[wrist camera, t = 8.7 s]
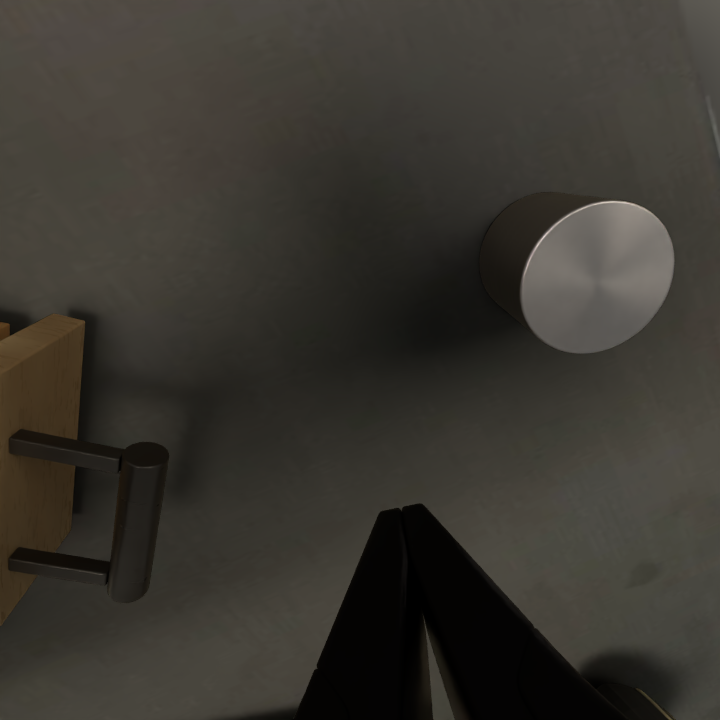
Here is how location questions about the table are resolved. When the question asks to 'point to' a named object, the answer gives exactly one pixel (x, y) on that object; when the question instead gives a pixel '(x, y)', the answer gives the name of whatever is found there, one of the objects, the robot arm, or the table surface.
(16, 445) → the drawer
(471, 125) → the table surface
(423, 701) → the robot arm
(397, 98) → the table surface
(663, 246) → the tin
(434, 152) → the table surface
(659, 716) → the headphones
